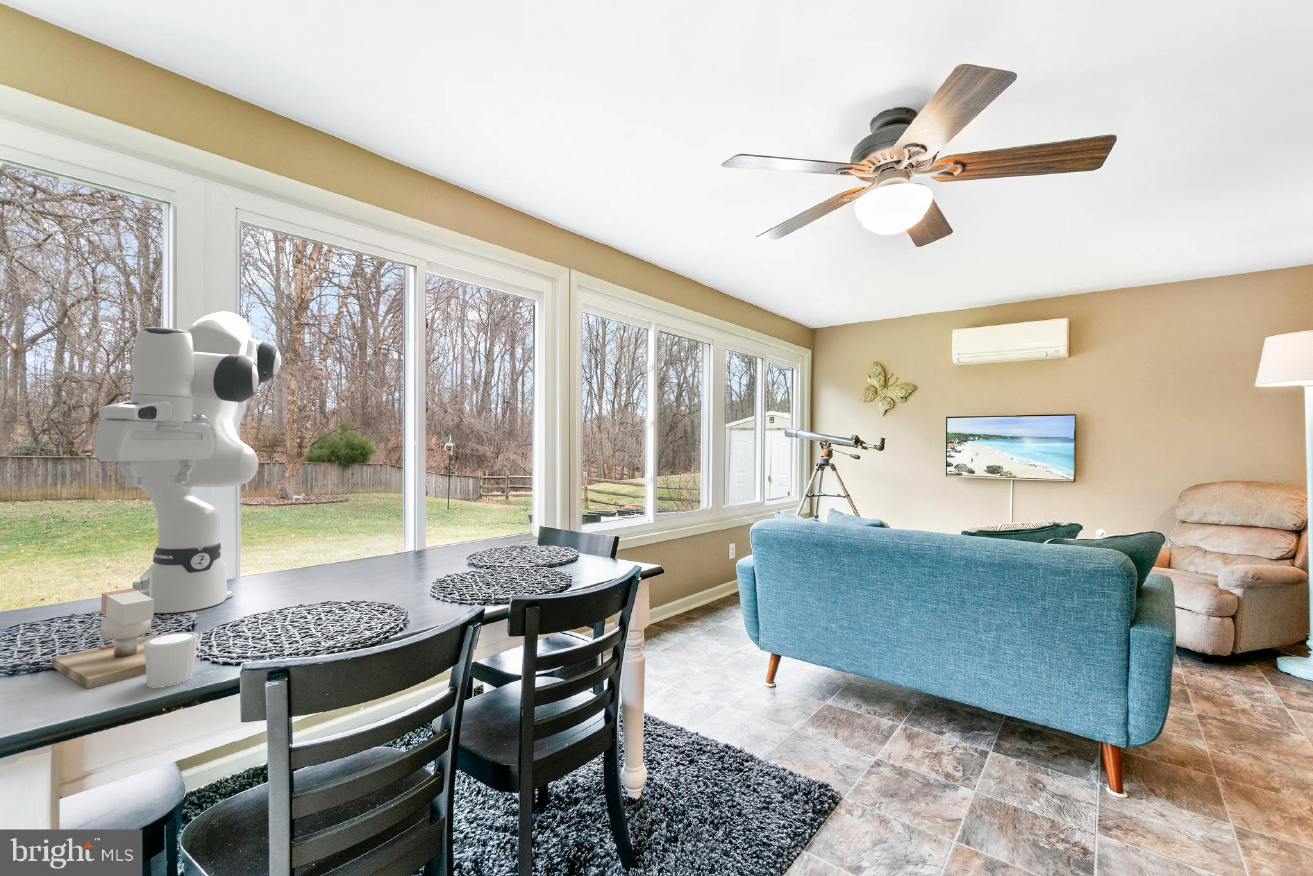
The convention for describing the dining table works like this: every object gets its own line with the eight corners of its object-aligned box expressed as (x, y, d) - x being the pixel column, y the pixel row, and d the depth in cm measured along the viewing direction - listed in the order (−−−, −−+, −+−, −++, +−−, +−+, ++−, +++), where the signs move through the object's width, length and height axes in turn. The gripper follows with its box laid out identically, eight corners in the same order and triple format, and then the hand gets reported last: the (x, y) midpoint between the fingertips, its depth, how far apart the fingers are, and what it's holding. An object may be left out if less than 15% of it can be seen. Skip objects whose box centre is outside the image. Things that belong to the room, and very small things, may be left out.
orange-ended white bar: (111, 645, 92) (113, 606, 92) (91, 631, 98) (92, 594, 98) (161, 634, 97) (162, 597, 97) (138, 622, 103) (140, 587, 103)
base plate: (51, 666, 95) (52, 656, 95) (154, 642, 107) (155, 633, 107) (88, 688, 88) (88, 678, 88) (194, 659, 100) (195, 650, 100)
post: (110, 655, 97) (111, 635, 97) (132, 650, 100) (133, 630, 100) (117, 659, 95) (118, 638, 96) (140, 653, 98) (140, 633, 98)
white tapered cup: (131, 691, 87) (133, 647, 87) (157, 673, 94) (159, 632, 94) (182, 687, 89) (184, 644, 89) (205, 670, 96) (206, 630, 96)
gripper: (194, 414, 115) (191, 480, 115) (88, 407, 94) (84, 488, 94) (223, 415, 114) (220, 481, 114) (123, 408, 94) (119, 489, 94)
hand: (158, 484), depth 104 cm, fingers open, 8 cm apart
